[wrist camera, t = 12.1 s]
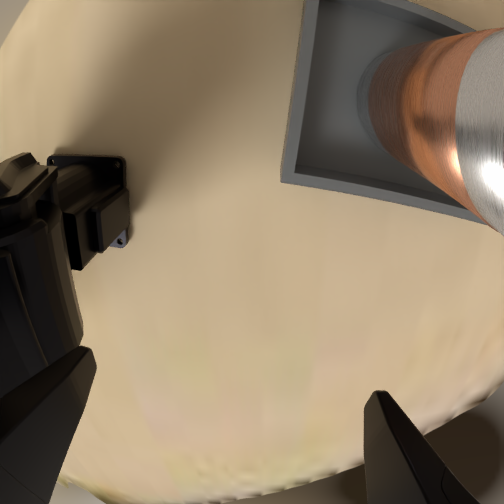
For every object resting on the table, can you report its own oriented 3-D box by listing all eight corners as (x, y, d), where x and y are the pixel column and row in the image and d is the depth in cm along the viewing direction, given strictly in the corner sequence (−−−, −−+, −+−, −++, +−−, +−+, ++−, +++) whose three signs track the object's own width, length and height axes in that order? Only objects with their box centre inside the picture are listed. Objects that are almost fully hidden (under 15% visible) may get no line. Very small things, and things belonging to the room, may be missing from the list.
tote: (280, 168, 19) (280, 182, 16) (305, -8, 14) (309, -25, 11) (472, 209, 19) (494, 227, 16) (503, 62, 13) (529, 62, 11)
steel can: (335, 125, 16) (462, 206, 5) (383, 28, 13) (548, -31, 2) (427, 179, 17) (572, 305, 6) (470, 91, 14) (644, 137, 3)
